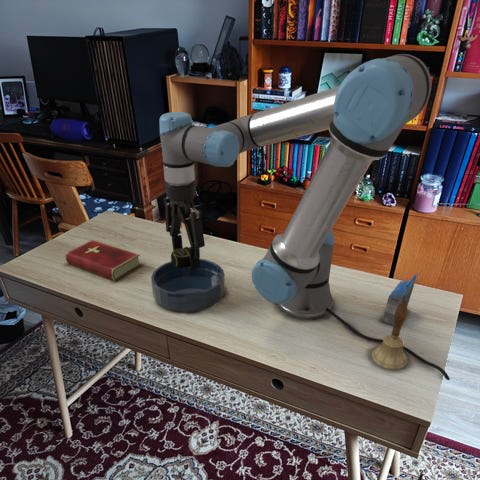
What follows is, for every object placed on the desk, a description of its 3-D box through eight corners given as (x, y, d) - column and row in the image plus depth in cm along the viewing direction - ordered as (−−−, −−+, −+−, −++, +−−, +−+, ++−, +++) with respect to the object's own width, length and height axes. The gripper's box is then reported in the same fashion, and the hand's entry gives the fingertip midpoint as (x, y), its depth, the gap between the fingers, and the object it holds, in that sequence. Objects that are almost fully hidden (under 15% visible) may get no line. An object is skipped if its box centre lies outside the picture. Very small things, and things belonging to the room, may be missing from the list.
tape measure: (200, 266, 122) (199, 254, 120) (177, 272, 119) (176, 260, 117) (190, 256, 127) (189, 244, 125) (167, 262, 124) (166, 250, 122)
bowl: (239, 294, 128) (239, 277, 125) (180, 322, 117) (178, 303, 114) (197, 268, 141) (195, 251, 137) (140, 291, 130) (137, 273, 126)
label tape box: (393, 306, 123) (402, 267, 116) (407, 311, 121) (418, 271, 114) (381, 321, 117) (390, 281, 110) (396, 326, 115) (407, 286, 108)
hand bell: (372, 344, 109) (384, 289, 100) (407, 350, 107) (423, 295, 98) (370, 366, 103) (383, 309, 94) (407, 373, 101) (424, 316, 92)
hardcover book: (114, 282, 134) (111, 269, 132) (67, 264, 143) (64, 252, 141) (141, 265, 142) (139, 253, 140) (95, 250, 151) (92, 238, 149)
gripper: (217, 188, 105) (219, 272, 119) (170, 168, 118) (177, 246, 131) (191, 195, 102) (197, 281, 115) (145, 174, 114) (155, 254, 127)
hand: (186, 262), depth 123 cm, fingers closed on tape measure, 7 cm apart
